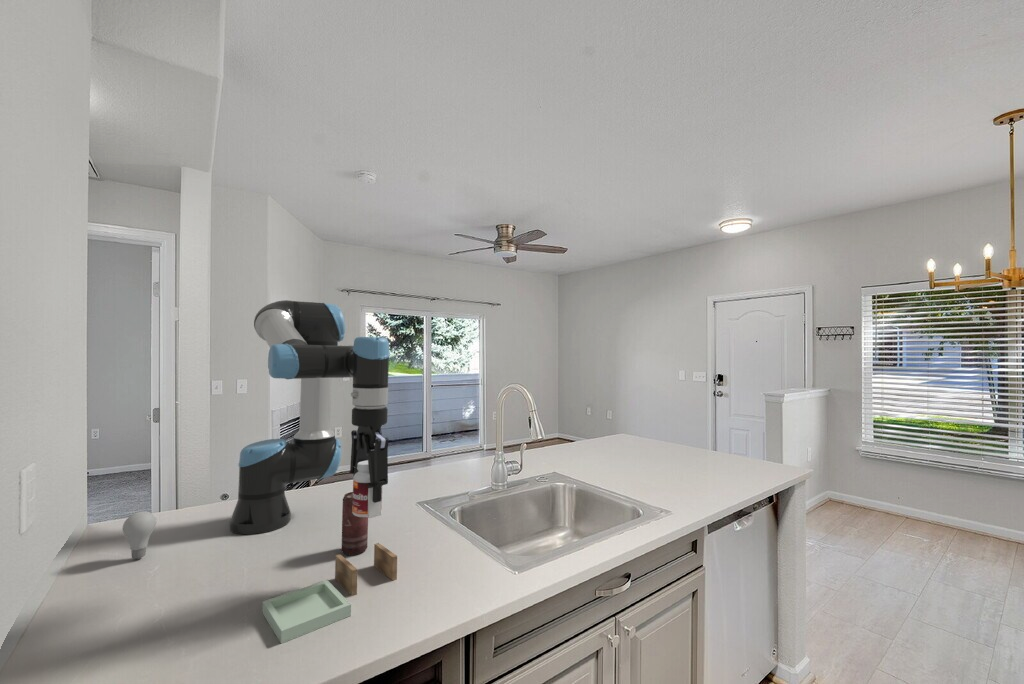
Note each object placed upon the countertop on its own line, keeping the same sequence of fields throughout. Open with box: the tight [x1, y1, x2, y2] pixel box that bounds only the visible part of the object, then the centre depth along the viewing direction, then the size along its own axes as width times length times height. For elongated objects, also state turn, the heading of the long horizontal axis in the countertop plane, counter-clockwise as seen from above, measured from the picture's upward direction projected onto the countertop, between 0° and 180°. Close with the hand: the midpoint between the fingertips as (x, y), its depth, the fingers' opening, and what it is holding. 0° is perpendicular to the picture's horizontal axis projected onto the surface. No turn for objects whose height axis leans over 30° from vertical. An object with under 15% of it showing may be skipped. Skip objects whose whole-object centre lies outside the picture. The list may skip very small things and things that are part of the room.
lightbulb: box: [122, 510, 157, 560], centre depth 104 cm, size 6×6×11 cm
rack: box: [334, 542, 398, 596], centre depth 96 cm, size 9×10×5 cm
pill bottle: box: [352, 460, 383, 517], centre depth 97 cm, size 6×6×11 cm
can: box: [340, 491, 369, 557], centre depth 110 cm, size 6×6×14 cm
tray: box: [262, 579, 352, 644], centre depth 83 cm, size 12×12×2 cm
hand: (367, 511), depth 96 cm, fingers closed on pill bottle, 6 cm apart
